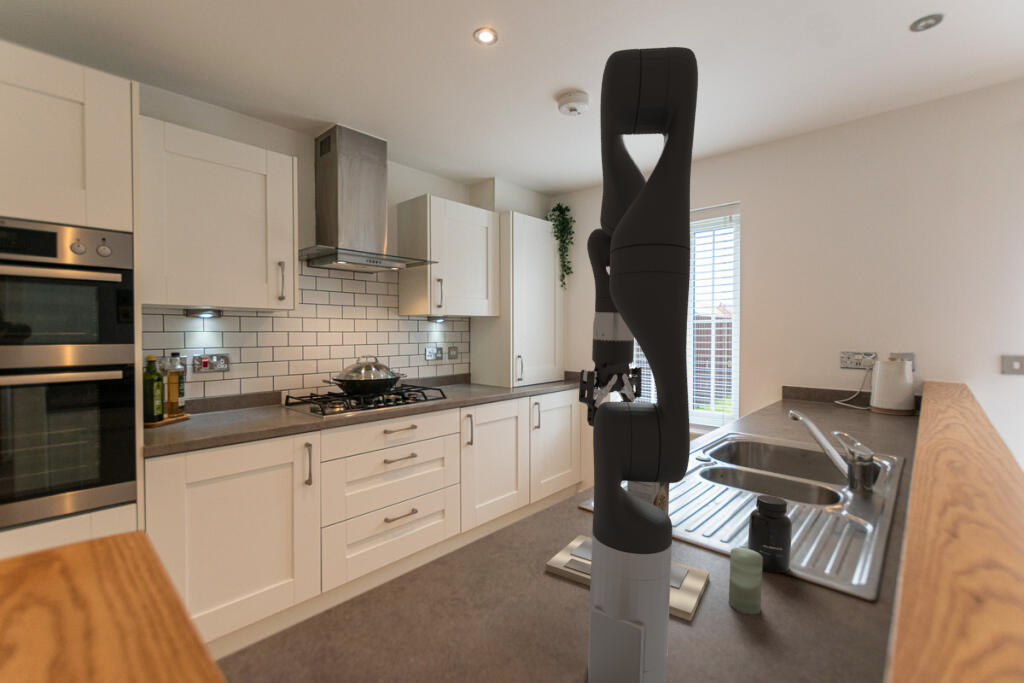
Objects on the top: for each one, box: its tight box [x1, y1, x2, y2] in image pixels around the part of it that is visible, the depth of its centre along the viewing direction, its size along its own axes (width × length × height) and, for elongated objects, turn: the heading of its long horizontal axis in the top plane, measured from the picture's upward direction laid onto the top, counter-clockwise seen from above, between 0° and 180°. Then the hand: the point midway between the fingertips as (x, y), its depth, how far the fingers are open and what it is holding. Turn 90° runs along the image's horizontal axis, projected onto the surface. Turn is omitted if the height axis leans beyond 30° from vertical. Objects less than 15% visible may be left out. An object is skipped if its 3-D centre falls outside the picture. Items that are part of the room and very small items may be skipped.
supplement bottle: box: [747, 494, 793, 574], centre depth 84 cm, size 7×7×12 cm
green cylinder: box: [728, 547, 763, 615], centre depth 71 cm, size 4×4×8 cm
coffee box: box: [626, 481, 670, 516], centre depth 103 cm, size 9×6×16 cm
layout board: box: [545, 534, 710, 622], centre depth 80 cm, size 14×24×1 cm, turn 57°
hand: (610, 423), depth 87 cm, fingers open, 8 cm apart
